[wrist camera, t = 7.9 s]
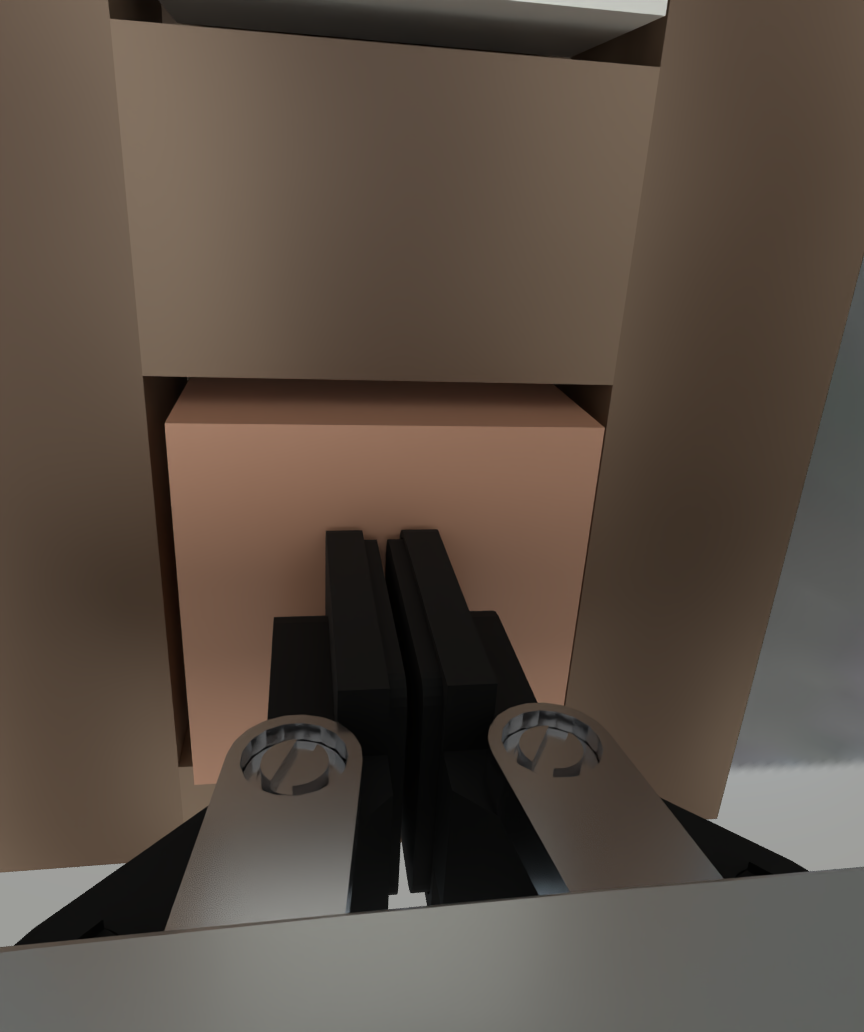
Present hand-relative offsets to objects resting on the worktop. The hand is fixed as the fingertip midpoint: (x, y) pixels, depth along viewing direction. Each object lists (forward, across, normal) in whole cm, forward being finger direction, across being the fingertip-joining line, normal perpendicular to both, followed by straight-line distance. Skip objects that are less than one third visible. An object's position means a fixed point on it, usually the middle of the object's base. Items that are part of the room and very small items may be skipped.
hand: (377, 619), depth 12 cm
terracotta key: (+4, 0, 0) cm, 4 cm away
